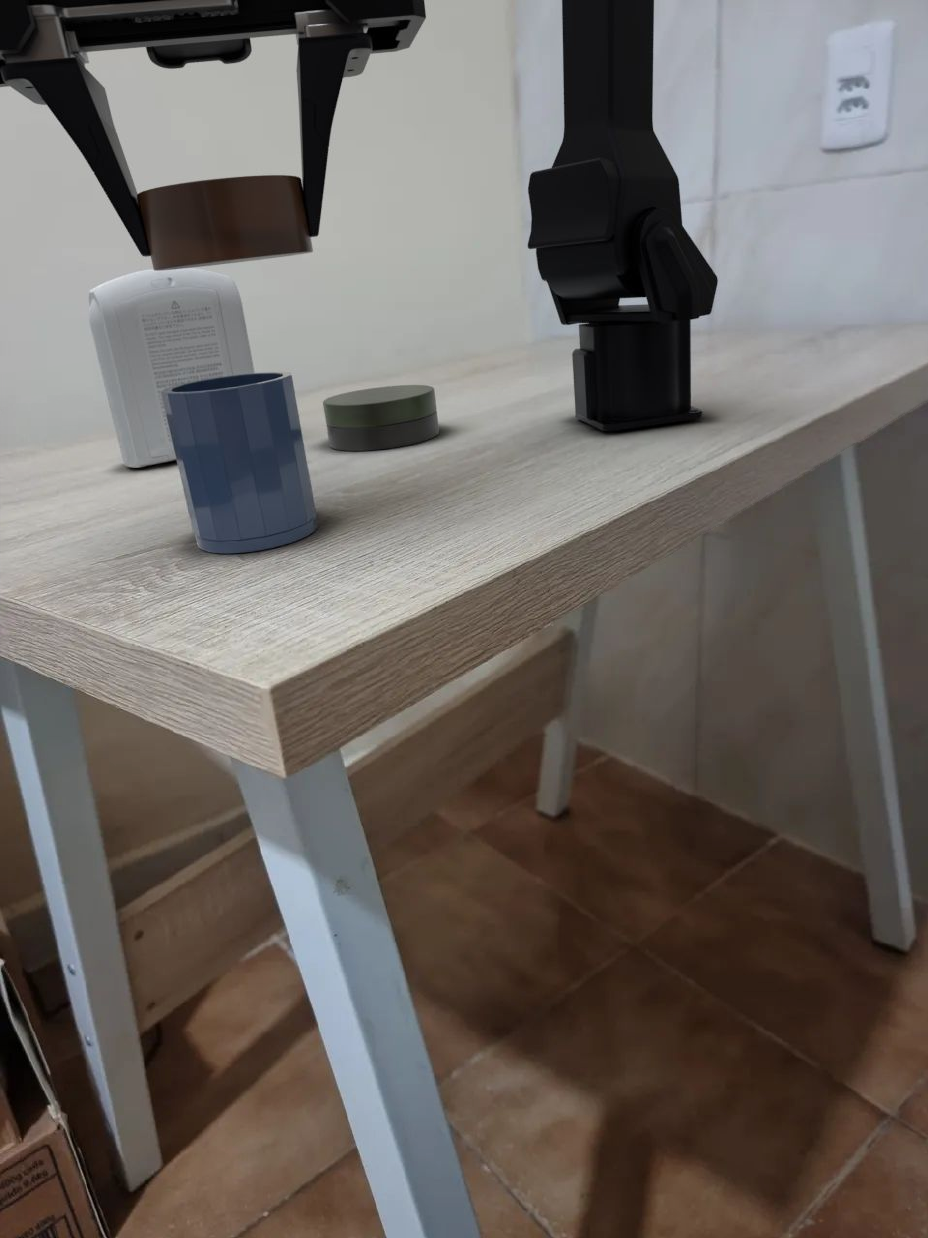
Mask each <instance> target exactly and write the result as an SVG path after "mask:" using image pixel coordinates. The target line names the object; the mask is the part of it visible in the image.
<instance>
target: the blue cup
mask: <svg viewBox="0 0 928 1238" xmlns="http://www.w3.org/2000/svg"><path fill="white" fill-rule="evenodd" d="M161 395H162V400H163V404H164V408H165V412H166V417H167V421H168V425H169V430H170V434H171V438H172V442H173V447H174V451H175V455H176V460H175V461H176V464H177V468H178V472H179V477H180V480H181V486H182V489H183V494H184V498H185V502H186V507H187V510H188V515H189V519H190V524H191V528H192V533H193V534H194V536H195V541H196V545H197V547H198V548H199V549H200V550H202V551H205V552H208V553H213V554H214V553H215V554H243V553H252V552H259V551H264V550H270V549H274V548H279V547H281V546H282V547H283V546H285V545H288V544H292V543H294V542H297V541H299V540H302V539H304V538H306V537H308V536H309V535H311V534H312V533H314V532H315V531H316V530H317V528H318V526H319V523H318V516H317V512H316V511H317V510H316V505H315V499H314V492H313V488H312V487H313V486H312V481H311V475H310V470H309V464H308V459H307V453H306V447H305V441H304V436H303V431H302V424H301V419H300V414H299V413H300V412H299V409H298V408H299V407H298V402H297V401H298V400H297V396H296V390H295V385H294V378H293V374H292V372H288V371H259V372H254V373H248V374H239V375H231V376H223V377H216V378H210V379H204V380H198V381H193V382H188V383H184V384H179V385H175V386H172V387H169V388H166V389H164V390H163V391H162V392H161Z"/></svg>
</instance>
